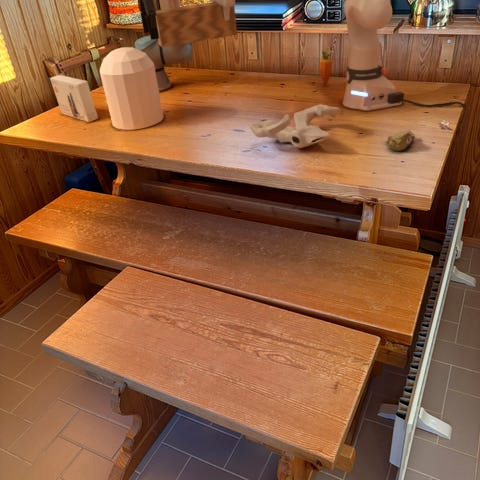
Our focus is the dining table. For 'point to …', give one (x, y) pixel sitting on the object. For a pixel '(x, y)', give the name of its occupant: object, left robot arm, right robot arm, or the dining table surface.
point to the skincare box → (74, 97)
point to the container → (131, 89)
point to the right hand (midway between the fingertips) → (223, 18)
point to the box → (194, 24)
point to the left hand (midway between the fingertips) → (151, 35)
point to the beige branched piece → (297, 127)
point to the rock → (400, 140)
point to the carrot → (325, 67)
